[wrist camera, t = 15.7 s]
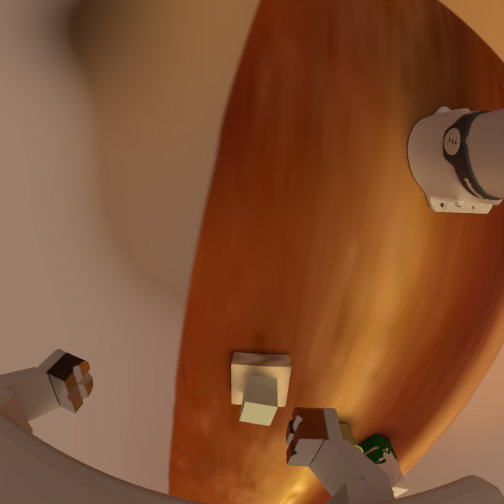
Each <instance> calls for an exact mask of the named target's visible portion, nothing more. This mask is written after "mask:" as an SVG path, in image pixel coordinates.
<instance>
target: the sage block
mask: <svg viewBox="0 0 504 504" xmlns="http://www.w3.org/2000/svg"><path fill="white" fill-rule="evenodd" d="M277 408H278V389H277V379H275V378H269V377H263V376H258V375H253V374H249V375H248V378H247V382H246V385H245V389H244V392H243V398H242V406H241V413H240V421H244V422H249V423H255V424H262V425H268V426H270V424H271V421H272V419H273V417H274V415H275V412H276V410H277Z"/></svg>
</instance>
